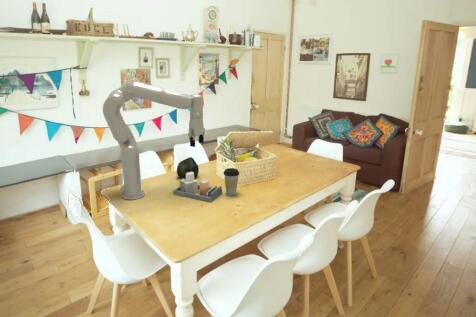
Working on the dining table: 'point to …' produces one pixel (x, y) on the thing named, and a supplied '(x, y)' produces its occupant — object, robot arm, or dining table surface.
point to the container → (188, 183)
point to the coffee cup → (231, 181)
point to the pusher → (211, 191)
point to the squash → (187, 167)
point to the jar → (204, 187)
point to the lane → (212, 197)
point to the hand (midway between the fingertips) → (197, 144)
